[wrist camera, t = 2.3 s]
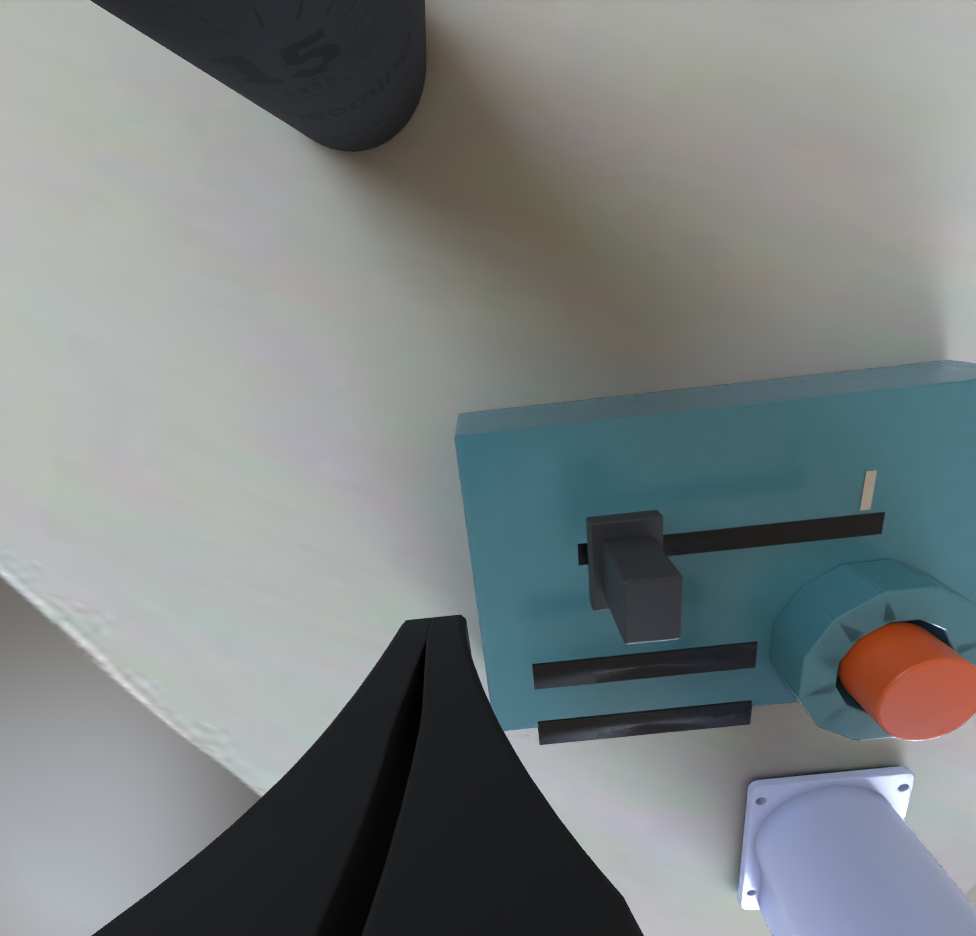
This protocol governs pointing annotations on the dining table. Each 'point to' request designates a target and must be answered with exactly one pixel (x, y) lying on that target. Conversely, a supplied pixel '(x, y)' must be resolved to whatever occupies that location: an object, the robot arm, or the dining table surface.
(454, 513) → the dining table surface
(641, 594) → the slider
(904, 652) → the button
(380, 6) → the drinking cup
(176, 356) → the dining table surface
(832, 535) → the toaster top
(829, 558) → the teal control box
